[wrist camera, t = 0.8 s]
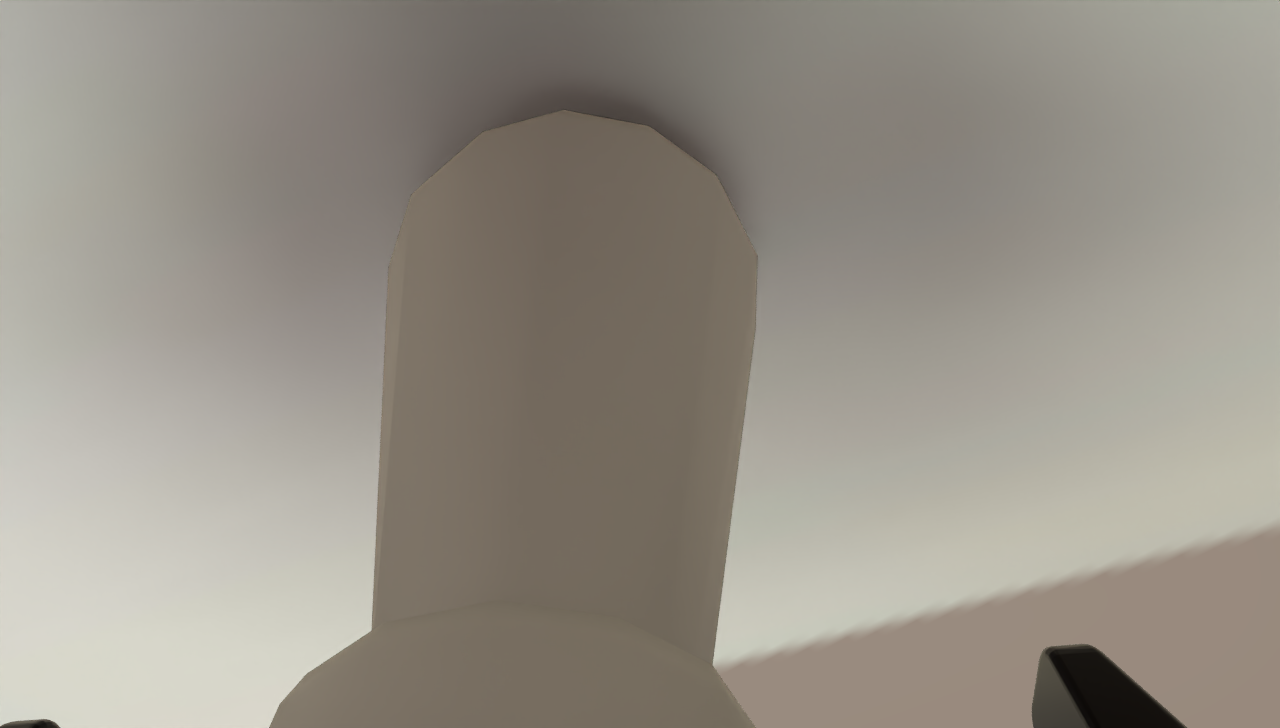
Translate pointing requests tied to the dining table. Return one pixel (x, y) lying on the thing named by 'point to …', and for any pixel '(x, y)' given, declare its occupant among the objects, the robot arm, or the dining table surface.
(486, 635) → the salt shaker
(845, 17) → the dining table surface
